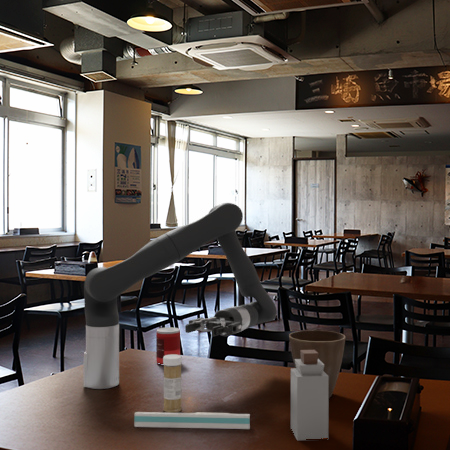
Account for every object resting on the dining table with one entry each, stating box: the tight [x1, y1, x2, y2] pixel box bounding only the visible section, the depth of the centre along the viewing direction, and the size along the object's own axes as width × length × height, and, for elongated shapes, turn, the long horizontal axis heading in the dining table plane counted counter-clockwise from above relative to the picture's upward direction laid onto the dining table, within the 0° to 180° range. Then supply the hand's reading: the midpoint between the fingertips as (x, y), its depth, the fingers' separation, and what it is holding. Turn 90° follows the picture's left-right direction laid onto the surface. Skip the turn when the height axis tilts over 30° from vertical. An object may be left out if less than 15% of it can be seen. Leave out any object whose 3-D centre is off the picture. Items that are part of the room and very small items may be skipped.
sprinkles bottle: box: [162, 354, 183, 413], centre depth 132 cm, size 5×5×14 cm
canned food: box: [155, 326, 181, 364], centre depth 178 cm, size 8×8×11 cm
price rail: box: [133, 411, 251, 430], centre depth 126 cm, size 26×10×3 cm, turn 87°
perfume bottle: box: [290, 350, 329, 441], centre depth 118 cm, size 7×7×18 cm
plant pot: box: [288, 329, 346, 399], centre depth 144 cm, size 15×15×16 cm
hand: (199, 330), depth 142 cm, fingers open, 8 cm apart
